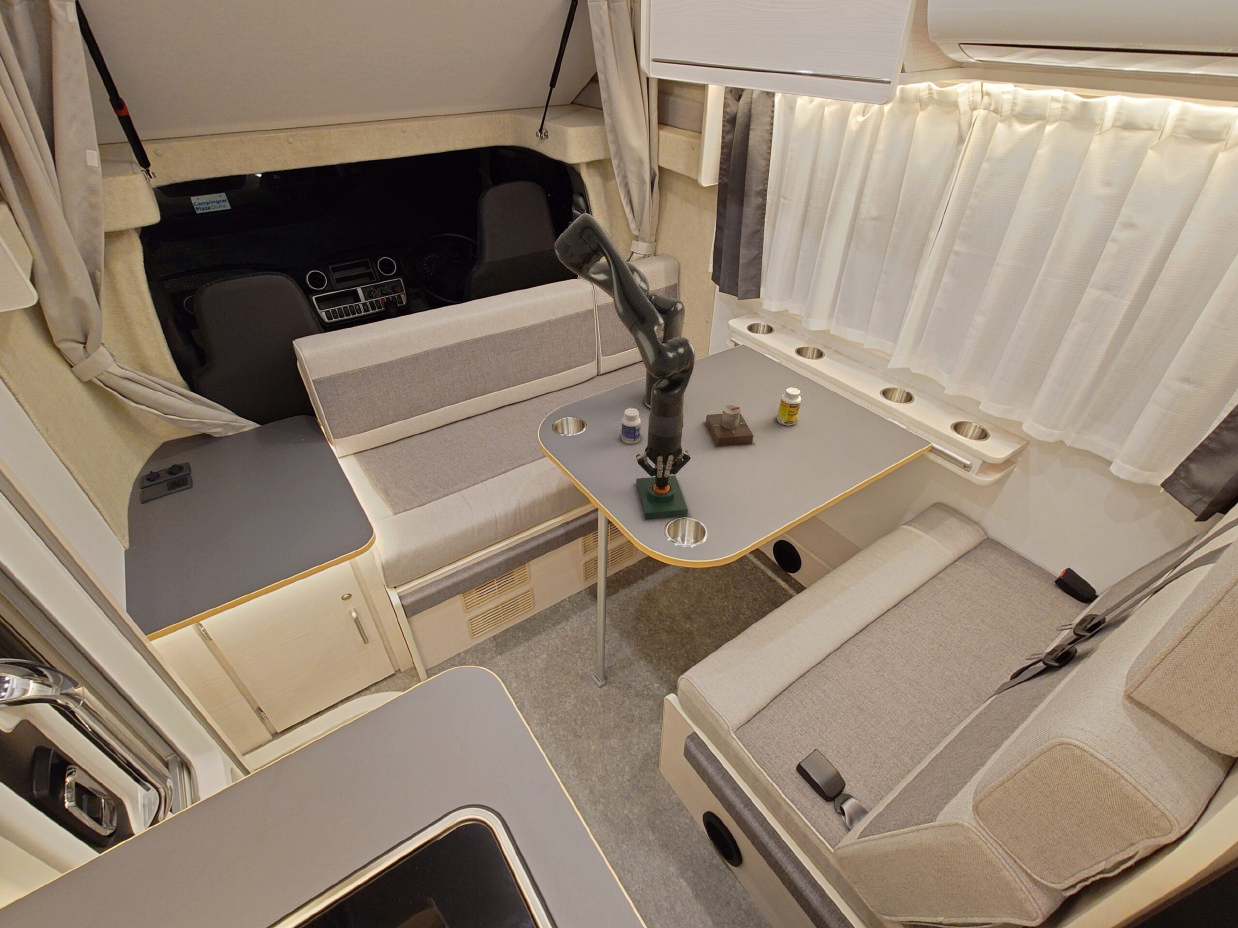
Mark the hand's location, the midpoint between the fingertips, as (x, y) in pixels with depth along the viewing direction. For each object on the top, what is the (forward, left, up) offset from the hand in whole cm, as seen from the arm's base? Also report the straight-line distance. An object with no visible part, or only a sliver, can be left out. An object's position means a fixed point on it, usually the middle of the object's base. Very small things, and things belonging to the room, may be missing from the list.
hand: (661, 487), depth 133 cm
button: (0, 0, -2) cm, 2 cm away
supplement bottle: (-30, +44, -4) cm, 54 cm away
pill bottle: (-27, -3, -4) cm, 28 cm away
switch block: (0, 0, -4) cm, 4 cm away
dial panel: (-26, +25, -4) cm, 36 cm away
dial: (-26, +25, -1) cm, 36 cm away
